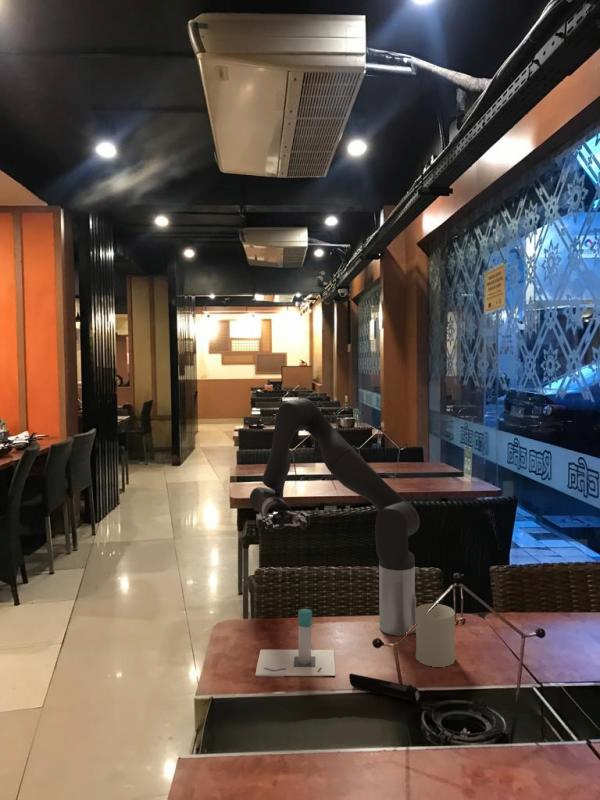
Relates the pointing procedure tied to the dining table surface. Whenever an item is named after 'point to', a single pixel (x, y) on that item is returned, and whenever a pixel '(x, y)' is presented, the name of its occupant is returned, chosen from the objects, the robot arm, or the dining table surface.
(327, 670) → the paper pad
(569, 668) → the dining table surface
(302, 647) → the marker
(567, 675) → the dining table surface
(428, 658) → the can
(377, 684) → the electric trimmer
